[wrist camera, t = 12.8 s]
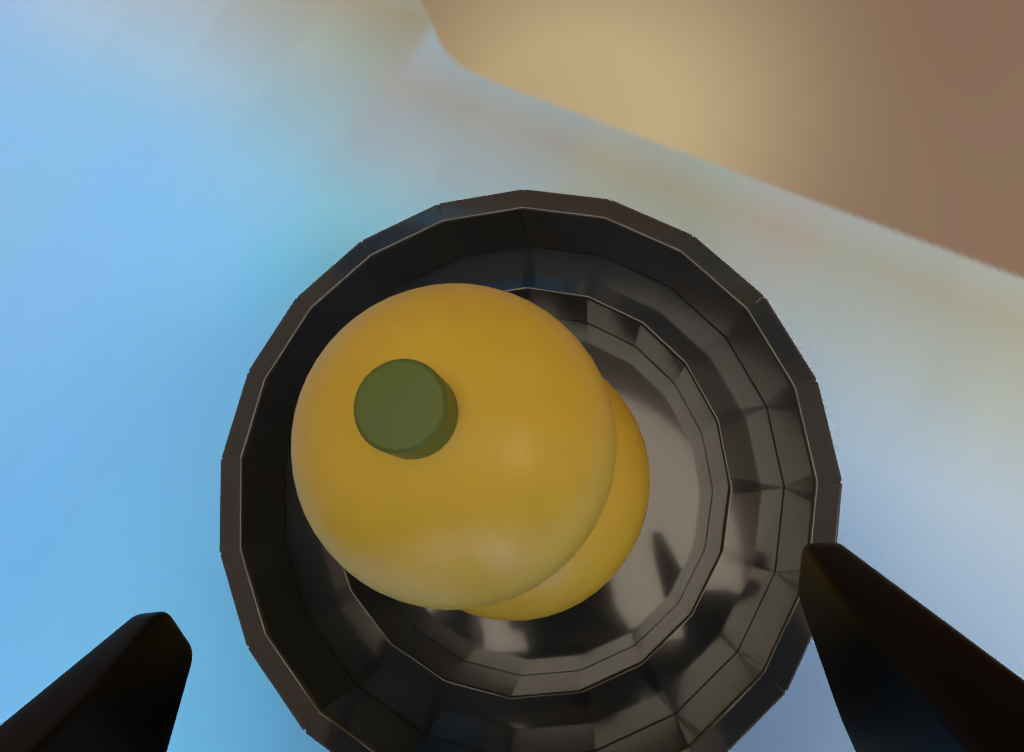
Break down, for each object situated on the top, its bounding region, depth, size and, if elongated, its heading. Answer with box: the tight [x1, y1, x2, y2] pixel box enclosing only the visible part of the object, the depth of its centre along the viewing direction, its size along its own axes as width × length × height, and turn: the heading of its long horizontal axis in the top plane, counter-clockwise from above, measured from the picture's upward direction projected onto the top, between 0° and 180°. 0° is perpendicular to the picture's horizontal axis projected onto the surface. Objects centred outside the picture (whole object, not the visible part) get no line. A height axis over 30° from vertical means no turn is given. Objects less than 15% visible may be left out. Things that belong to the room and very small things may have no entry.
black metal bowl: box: [220, 190, 842, 752], centre depth 17 cm, size 15×15×5 cm
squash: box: [291, 283, 650, 621], centre depth 12 cm, size 7×7×13 cm
